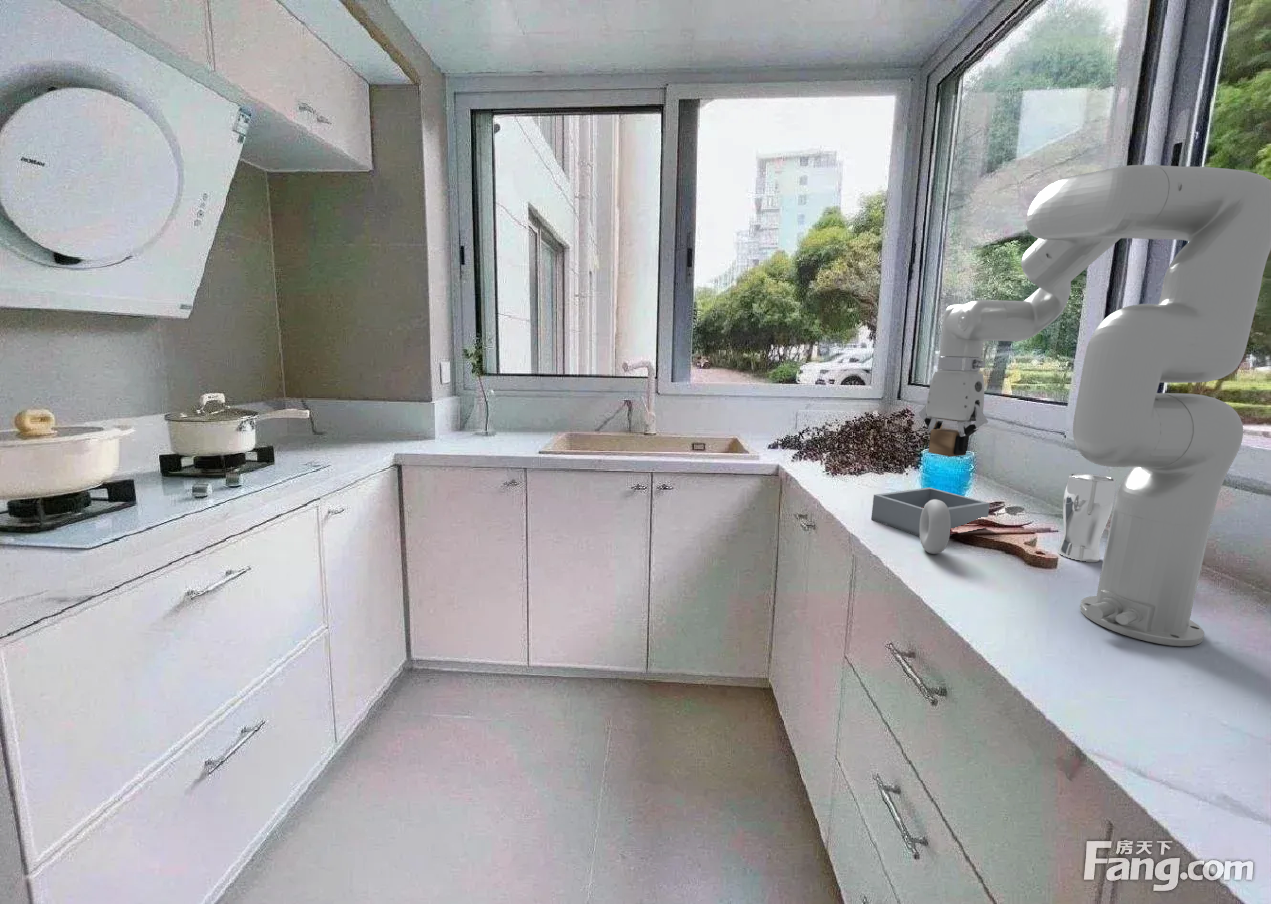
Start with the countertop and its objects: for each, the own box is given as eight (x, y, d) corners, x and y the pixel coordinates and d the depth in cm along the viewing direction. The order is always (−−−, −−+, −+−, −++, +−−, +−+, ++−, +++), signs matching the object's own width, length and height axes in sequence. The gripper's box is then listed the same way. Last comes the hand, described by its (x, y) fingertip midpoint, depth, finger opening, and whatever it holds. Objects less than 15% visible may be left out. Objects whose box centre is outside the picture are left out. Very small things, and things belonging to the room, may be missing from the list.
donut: (948, 563, 97) (956, 508, 95) (927, 561, 97) (934, 506, 96) (934, 544, 106) (941, 494, 104) (915, 542, 107) (921, 492, 105)
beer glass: (1111, 565, 97) (1127, 482, 95) (1067, 561, 99) (1081, 480, 96) (1088, 551, 104) (1102, 474, 101) (1046, 548, 105) (1059, 471, 103)
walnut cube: (965, 455, 116) (968, 431, 115) (950, 456, 114) (953, 432, 113) (943, 450, 121) (946, 428, 120) (928, 452, 119) (931, 429, 118)
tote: (928, 539, 109) (932, 512, 108) (871, 519, 121) (873, 494, 120) (986, 528, 116) (989, 503, 115) (926, 510, 129) (929, 487, 128)
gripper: (1012, 367, 108) (998, 458, 112) (933, 364, 123) (923, 444, 127) (987, 367, 105) (974, 461, 108) (910, 364, 120) (900, 446, 123)
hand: (947, 451), depth 117 cm, fingers closed on walnut cube, 4 cm apart
